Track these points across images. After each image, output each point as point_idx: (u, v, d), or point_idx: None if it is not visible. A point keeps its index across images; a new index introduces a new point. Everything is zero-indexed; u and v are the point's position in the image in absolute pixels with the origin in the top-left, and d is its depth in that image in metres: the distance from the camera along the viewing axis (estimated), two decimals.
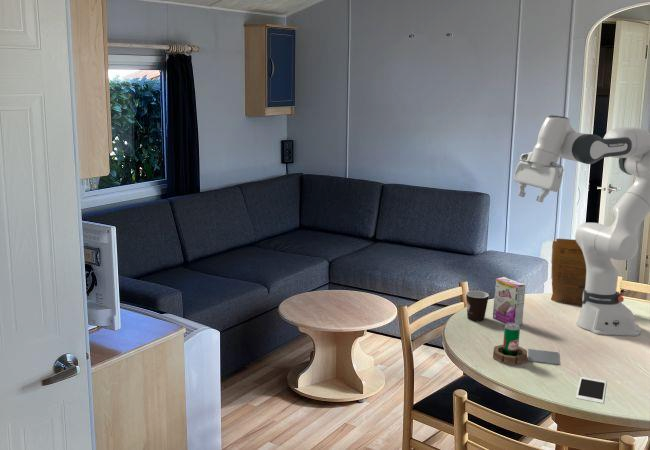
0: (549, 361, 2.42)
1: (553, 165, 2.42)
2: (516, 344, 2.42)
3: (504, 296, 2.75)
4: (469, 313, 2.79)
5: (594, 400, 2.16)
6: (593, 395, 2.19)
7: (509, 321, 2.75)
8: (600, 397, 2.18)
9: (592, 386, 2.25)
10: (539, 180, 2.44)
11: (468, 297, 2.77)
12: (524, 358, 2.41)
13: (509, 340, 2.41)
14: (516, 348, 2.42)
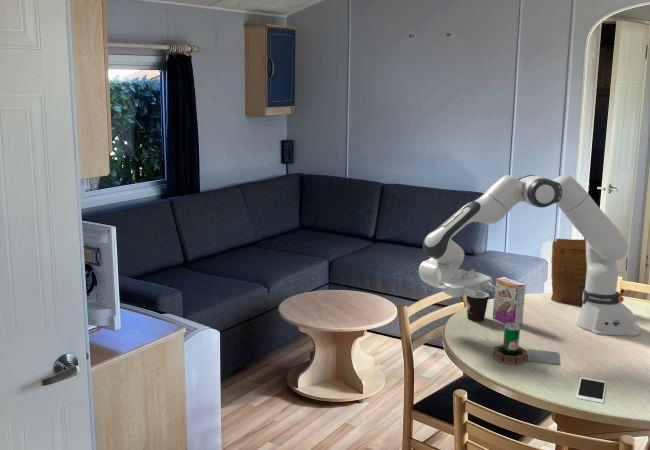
0: (549, 361, 2.42)
1: None
2: (516, 344, 2.42)
3: (504, 296, 2.75)
4: (469, 313, 2.79)
5: (594, 400, 2.16)
6: (593, 395, 2.19)
7: (509, 321, 2.75)
8: (600, 397, 2.18)
9: (592, 386, 2.25)
10: None
11: (468, 297, 2.77)
12: (524, 358, 2.41)
13: (509, 340, 2.41)
14: (516, 348, 2.42)
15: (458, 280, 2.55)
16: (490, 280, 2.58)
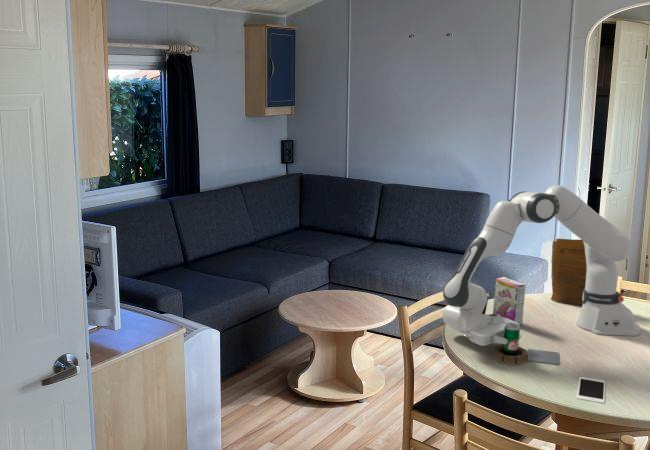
0: (549, 361, 2.42)
1: None
2: (516, 344, 2.42)
3: (504, 296, 2.75)
4: None
5: (595, 400, 2.16)
6: (594, 395, 2.19)
7: None
8: (601, 397, 2.18)
9: (592, 386, 2.25)
10: None
11: None
12: (524, 358, 2.41)
13: (509, 340, 2.41)
14: (516, 348, 2.42)
15: (484, 327, 2.49)
16: None
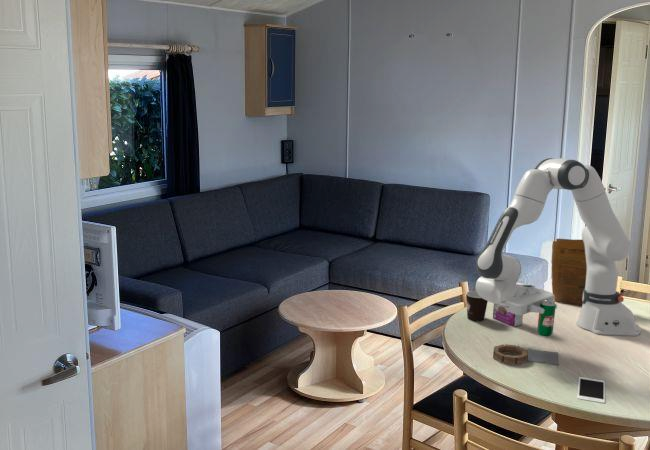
0: (549, 361, 2.42)
1: None
2: (551, 320, 2.41)
3: None
4: (469, 313, 2.79)
5: (595, 400, 2.16)
6: (594, 395, 2.19)
7: (509, 321, 2.75)
8: (601, 397, 2.18)
9: (592, 386, 2.25)
10: None
11: (468, 297, 2.77)
12: (524, 358, 2.41)
13: (543, 316, 2.41)
14: (551, 324, 2.41)
15: (520, 297, 2.47)
16: (552, 296, 2.50)
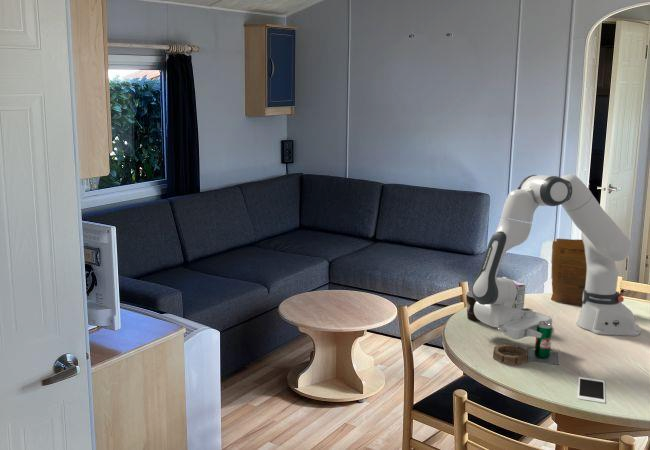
0: (549, 361, 2.42)
1: None
2: (548, 342, 2.42)
3: None
4: (469, 313, 2.79)
5: (596, 400, 2.16)
6: (594, 395, 2.19)
7: None
8: (601, 397, 2.18)
9: (591, 386, 2.25)
10: None
11: (468, 297, 2.77)
12: (524, 358, 2.41)
13: (540, 338, 2.42)
14: (548, 346, 2.43)
15: (517, 321, 2.49)
16: (550, 320, 2.52)
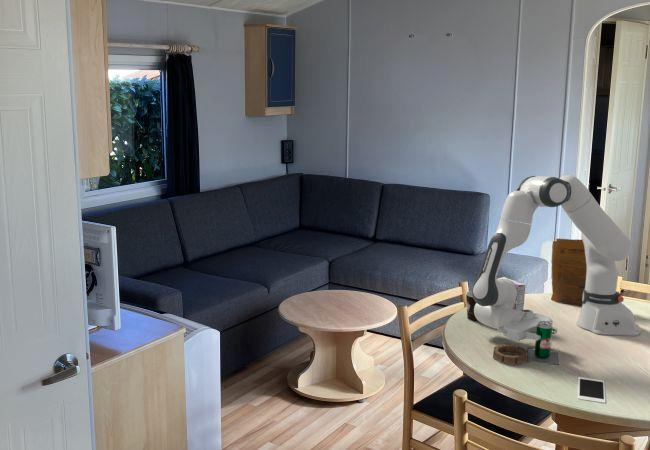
0: (549, 361, 2.42)
1: None
2: (548, 342, 2.42)
3: None
4: (469, 313, 2.79)
5: (596, 400, 2.16)
6: (594, 395, 2.19)
7: None
8: (601, 397, 2.18)
9: (591, 386, 2.25)
10: None
11: (468, 297, 2.77)
12: (524, 358, 2.41)
13: (540, 338, 2.42)
14: (548, 346, 2.43)
15: (518, 322, 2.49)
16: (550, 321, 2.52)
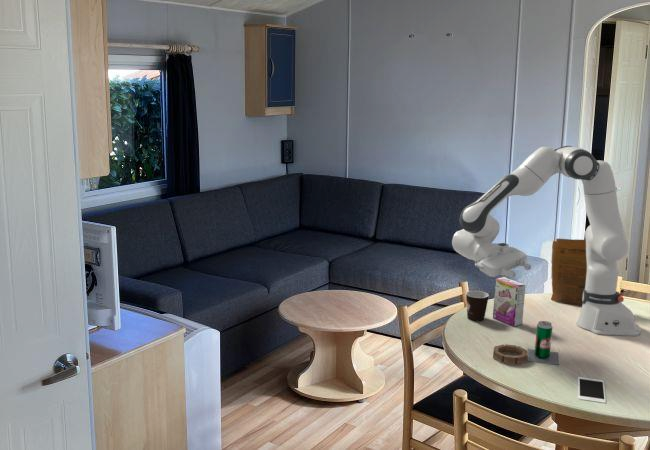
0: (549, 361, 2.42)
1: None
2: (548, 342, 2.42)
3: (504, 296, 2.75)
4: (469, 313, 2.79)
5: (596, 400, 2.16)
6: (594, 395, 2.19)
7: (509, 321, 2.75)
8: (602, 397, 2.18)
9: (591, 386, 2.25)
10: None
11: (468, 297, 2.77)
12: (524, 358, 2.41)
13: (540, 338, 2.42)
14: (548, 346, 2.43)
15: (494, 257, 2.56)
16: (525, 257, 2.59)
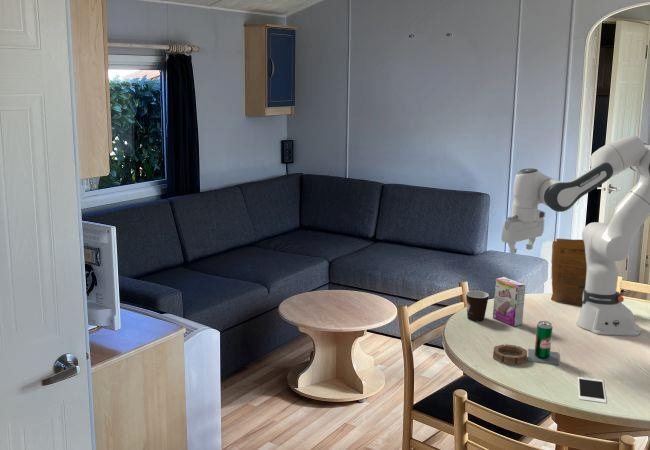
0: (549, 361, 2.42)
1: None
2: (548, 342, 2.42)
3: (504, 296, 2.75)
4: (469, 313, 2.79)
5: (597, 400, 2.15)
6: (595, 395, 2.19)
7: (509, 321, 2.75)
8: (602, 397, 2.18)
9: (591, 386, 2.25)
10: None
11: (468, 297, 2.77)
12: (524, 358, 2.41)
13: (540, 338, 2.42)
14: (548, 346, 2.43)
15: (522, 225, 2.56)
16: (538, 236, 2.64)
